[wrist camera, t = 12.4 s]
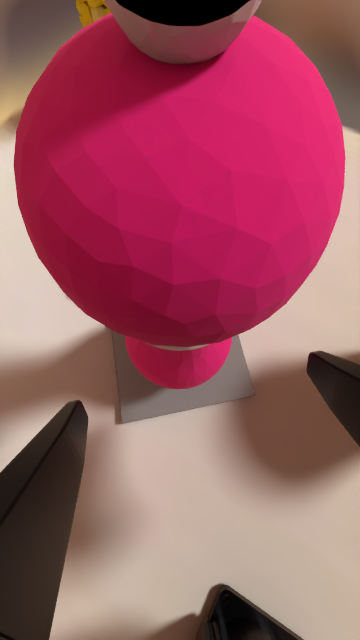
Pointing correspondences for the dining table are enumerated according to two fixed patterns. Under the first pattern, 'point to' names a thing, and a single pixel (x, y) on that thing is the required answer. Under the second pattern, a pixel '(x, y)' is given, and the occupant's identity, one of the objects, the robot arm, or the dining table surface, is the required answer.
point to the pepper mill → (179, 176)
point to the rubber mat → (155, 400)
